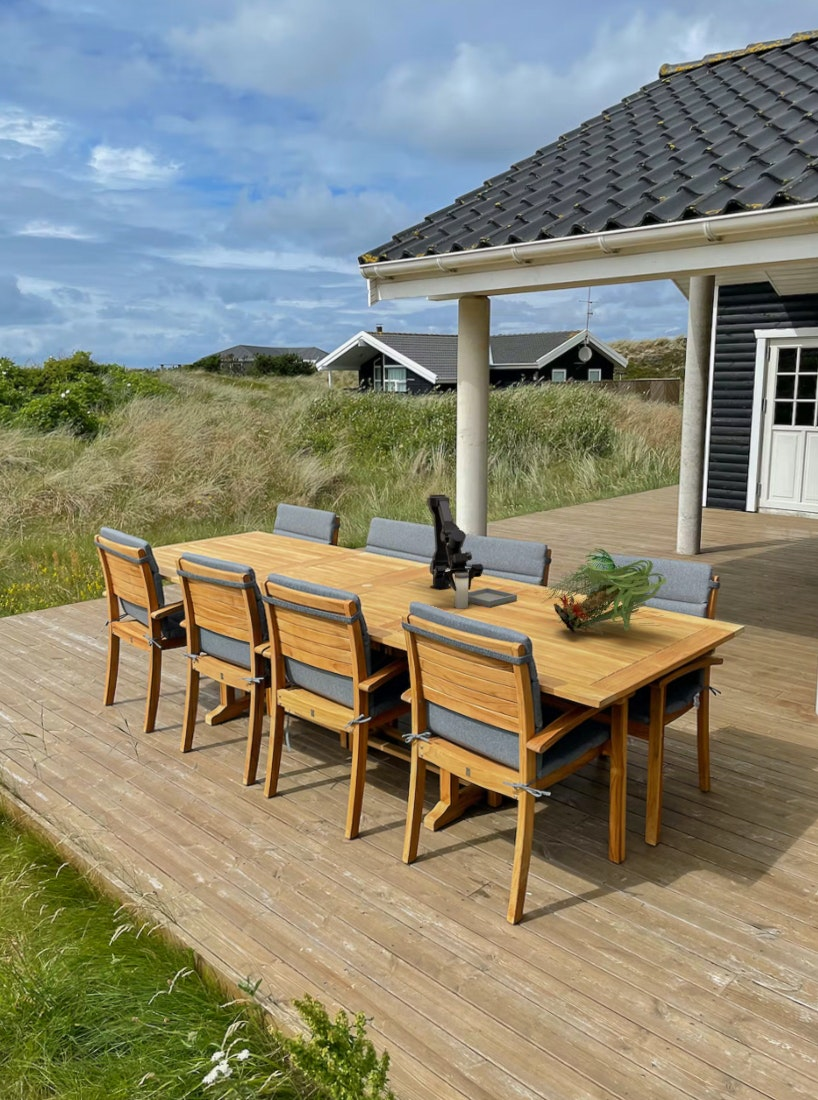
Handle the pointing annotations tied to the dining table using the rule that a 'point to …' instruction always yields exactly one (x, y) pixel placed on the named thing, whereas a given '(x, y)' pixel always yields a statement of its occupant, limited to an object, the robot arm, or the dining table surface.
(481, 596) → the tray
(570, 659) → the dining table surface
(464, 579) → the shaker
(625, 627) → the plant
